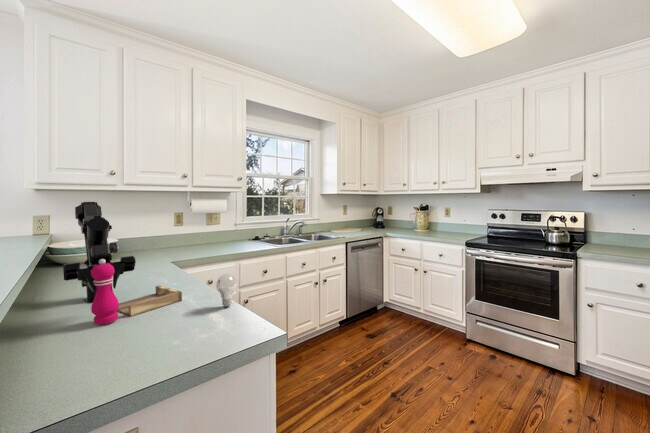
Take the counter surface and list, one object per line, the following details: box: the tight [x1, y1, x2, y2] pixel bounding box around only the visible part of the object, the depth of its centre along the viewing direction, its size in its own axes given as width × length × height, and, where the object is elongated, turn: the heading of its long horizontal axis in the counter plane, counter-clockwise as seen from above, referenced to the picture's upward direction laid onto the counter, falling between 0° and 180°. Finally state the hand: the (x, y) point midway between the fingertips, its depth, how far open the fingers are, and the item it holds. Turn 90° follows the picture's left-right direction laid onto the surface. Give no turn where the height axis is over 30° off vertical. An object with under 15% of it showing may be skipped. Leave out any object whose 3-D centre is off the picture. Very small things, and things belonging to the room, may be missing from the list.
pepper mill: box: [90, 259, 120, 325], centre depth 96 cm, size 7×7×20 cm
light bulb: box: [215, 273, 237, 308], centre depth 109 cm, size 7×7×12 cm
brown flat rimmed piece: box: [116, 284, 183, 318], centre depth 113 cm, size 16×18×4 cm
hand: (104, 289), depth 95 cm, fingers closed on pepper mill, 5 cm apart
